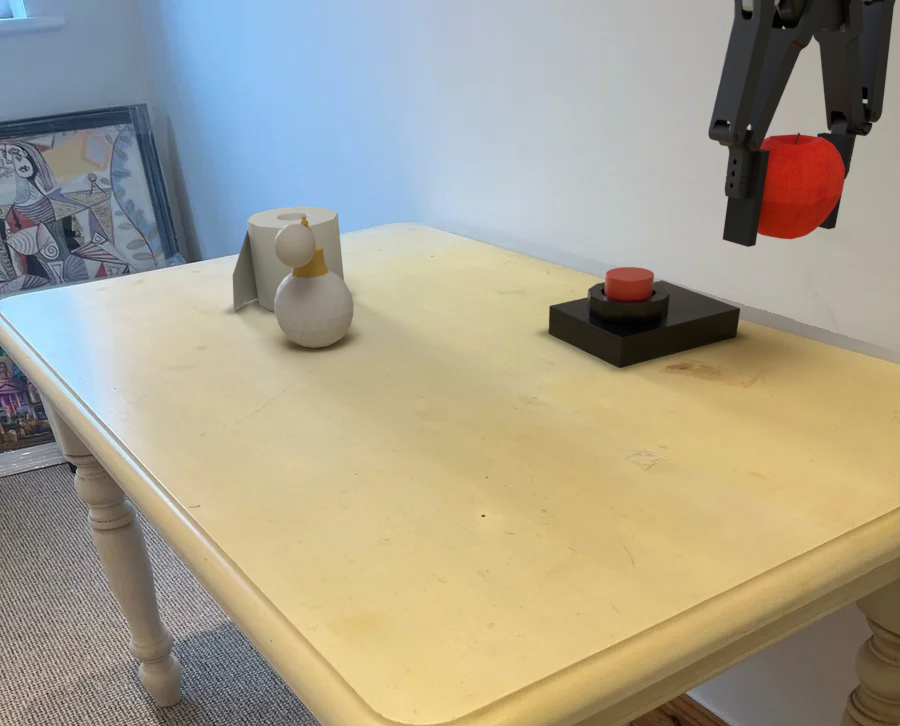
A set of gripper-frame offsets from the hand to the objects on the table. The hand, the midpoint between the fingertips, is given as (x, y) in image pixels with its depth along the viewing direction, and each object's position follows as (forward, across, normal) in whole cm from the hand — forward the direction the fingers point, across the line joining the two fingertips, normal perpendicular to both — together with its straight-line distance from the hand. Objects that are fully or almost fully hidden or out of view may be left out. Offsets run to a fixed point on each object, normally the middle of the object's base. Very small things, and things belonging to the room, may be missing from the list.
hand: (779, 233), depth 73 cm
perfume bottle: (+12, +28, -29) cm, 42 cm away
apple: (0, 0, 0) cm, 0 cm away
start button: (+8, +3, -14) cm, 17 cm away
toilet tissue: (+12, +24, -44) cm, 52 cm away
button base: (+12, 0, -14) cm, 19 cm away
